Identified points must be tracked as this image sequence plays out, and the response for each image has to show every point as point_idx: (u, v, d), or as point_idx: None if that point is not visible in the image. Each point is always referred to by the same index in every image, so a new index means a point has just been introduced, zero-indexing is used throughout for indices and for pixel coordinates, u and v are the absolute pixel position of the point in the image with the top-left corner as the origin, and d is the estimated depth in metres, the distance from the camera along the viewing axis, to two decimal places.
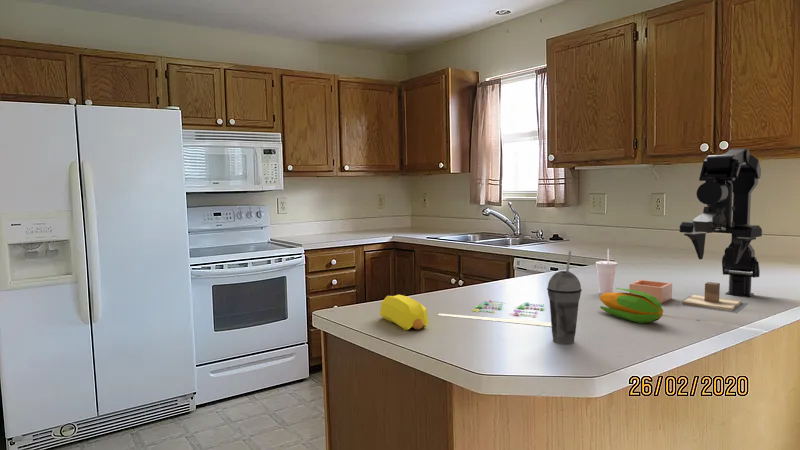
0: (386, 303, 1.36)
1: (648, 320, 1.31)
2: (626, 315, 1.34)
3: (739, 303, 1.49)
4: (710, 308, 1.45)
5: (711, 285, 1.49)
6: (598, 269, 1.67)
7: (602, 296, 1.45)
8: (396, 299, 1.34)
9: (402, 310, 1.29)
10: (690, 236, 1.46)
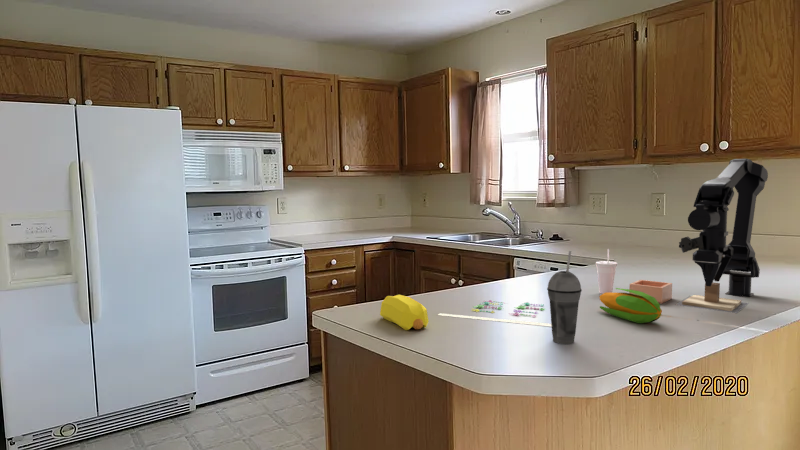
0: (386, 303, 1.36)
1: (646, 320, 1.30)
2: (625, 315, 1.34)
3: (739, 303, 1.49)
4: (710, 308, 1.45)
5: (711, 285, 1.49)
6: (598, 269, 1.67)
7: (602, 296, 1.45)
8: (396, 299, 1.34)
9: (402, 310, 1.29)
10: None
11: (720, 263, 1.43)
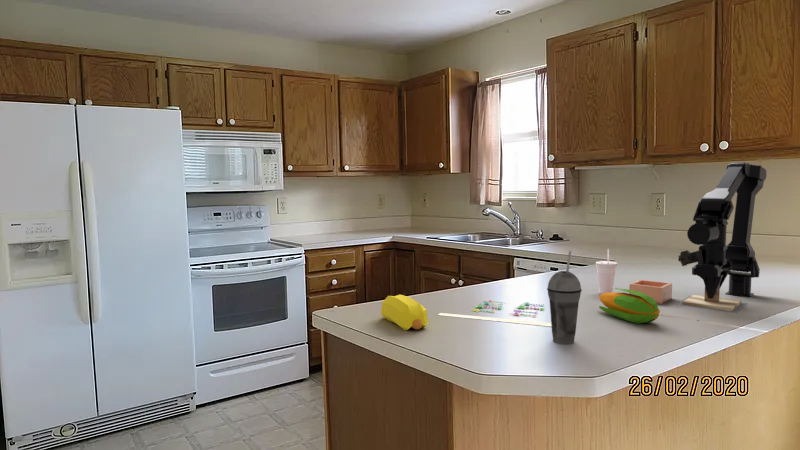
0: (387, 303, 1.36)
1: (644, 320, 1.30)
2: (623, 315, 1.35)
3: (739, 303, 1.49)
4: (710, 308, 1.45)
5: None
6: (598, 269, 1.67)
7: (601, 296, 1.45)
8: (396, 299, 1.34)
9: (401, 310, 1.29)
10: None
11: (722, 276, 1.45)
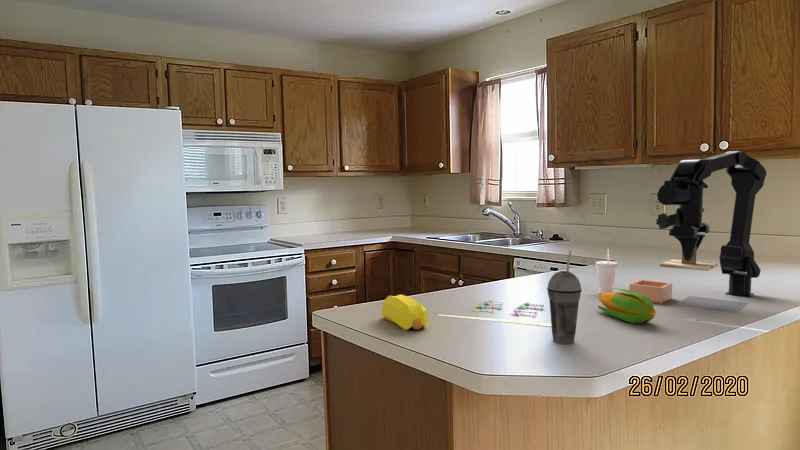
0: (387, 303, 1.37)
1: (640, 320, 1.30)
2: (619, 315, 1.35)
3: (715, 265, 1.51)
4: (710, 308, 1.45)
5: None
6: (598, 269, 1.67)
7: (600, 296, 1.45)
8: (396, 299, 1.34)
9: (401, 310, 1.29)
10: None
11: (698, 237, 1.47)
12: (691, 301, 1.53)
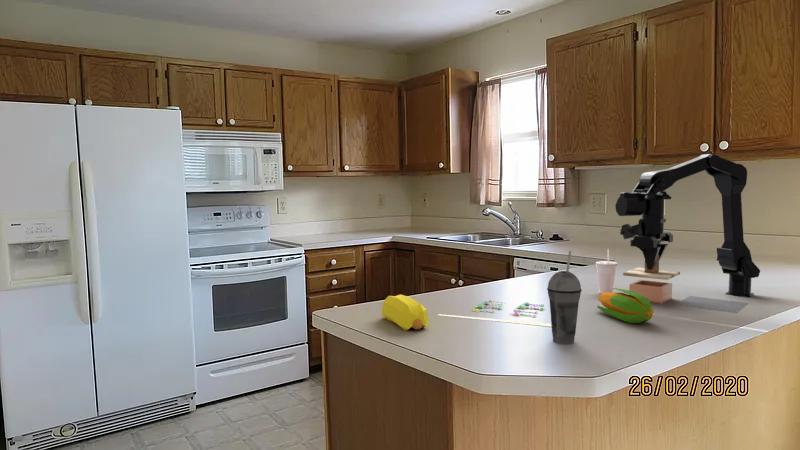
0: (387, 303, 1.36)
1: (637, 320, 1.30)
2: (617, 315, 1.35)
3: (677, 274, 1.55)
4: (710, 308, 1.45)
5: None
6: (598, 269, 1.67)
7: (600, 296, 1.45)
8: (397, 299, 1.34)
9: (402, 310, 1.29)
10: None
11: (659, 247, 1.52)
12: (691, 301, 1.53)
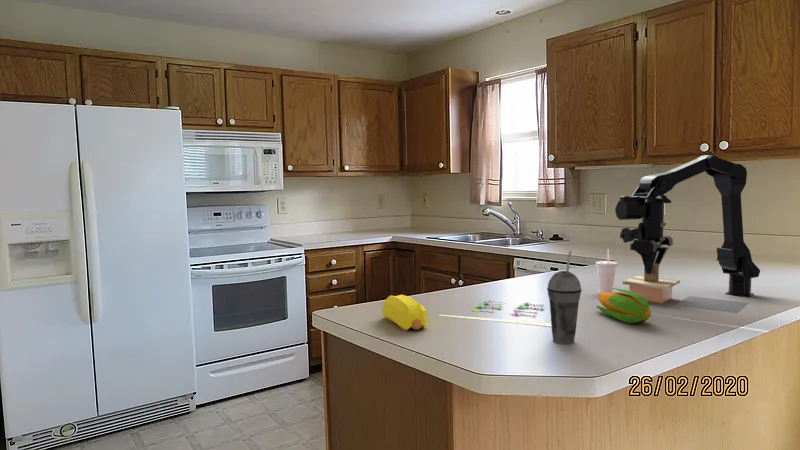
0: (387, 303, 1.37)
1: (635, 320, 1.30)
2: (615, 315, 1.35)
3: (677, 283, 1.56)
4: (710, 308, 1.45)
5: None
6: (598, 269, 1.67)
7: (600, 296, 1.46)
8: (397, 299, 1.34)
9: (401, 310, 1.29)
10: None
11: (658, 251, 1.51)
12: (691, 301, 1.53)
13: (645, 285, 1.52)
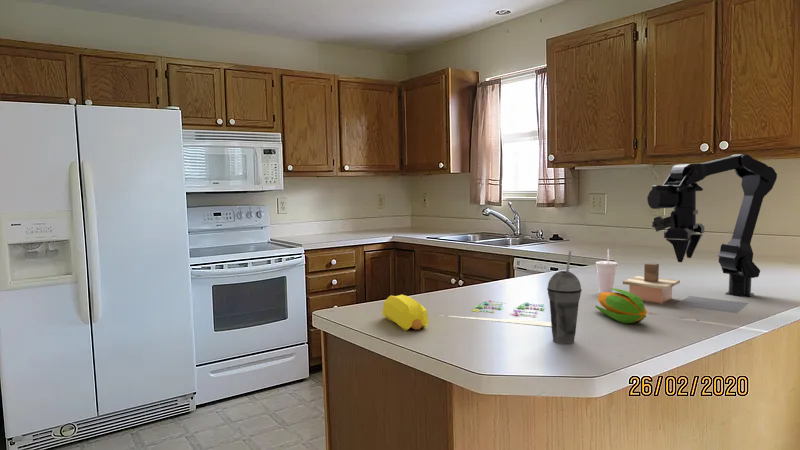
0: (388, 303, 1.37)
1: (630, 320, 1.30)
2: (611, 315, 1.35)
3: (677, 283, 1.56)
4: (710, 308, 1.45)
5: (650, 265, 1.55)
6: (598, 269, 1.67)
7: (599, 295, 1.46)
8: (397, 299, 1.34)
9: (401, 310, 1.29)
10: None
11: (690, 240, 1.51)
12: (691, 301, 1.53)
13: (645, 285, 1.52)
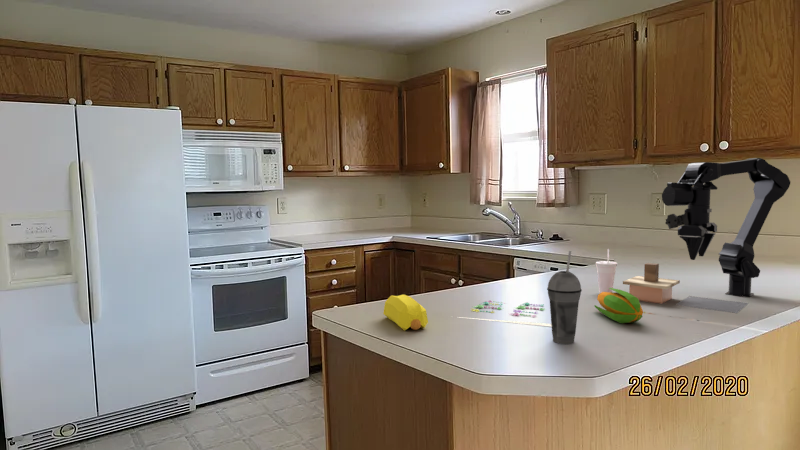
0: (388, 303, 1.37)
1: (626, 320, 1.30)
2: (609, 315, 1.35)
3: (677, 283, 1.56)
4: (710, 308, 1.45)
5: (650, 265, 1.55)
6: (598, 269, 1.67)
7: (598, 295, 1.46)
8: (397, 299, 1.34)
9: (400, 310, 1.29)
10: None
11: (703, 237, 1.52)
12: (691, 301, 1.53)
13: (645, 285, 1.52)
